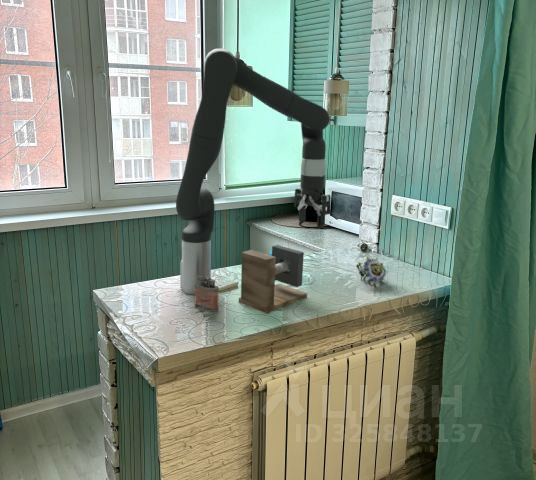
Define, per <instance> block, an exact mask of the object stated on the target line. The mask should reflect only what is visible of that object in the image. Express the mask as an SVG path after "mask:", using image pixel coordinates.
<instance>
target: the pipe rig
mask: <svg viewBox="0 0 536 480" xmlns="http://www.w3.org/2000/svg"><path fill="white" fill-rule="evenodd" d="M275 263H276V257H274V256H271V255H270V254H267V253H264V252H260V251H256V250H254V249H248V250H246V251H242V252H241V273H240V274H241V279H240V281H241V282H240V283H241V285H240V297H238V303H239V304H241V305H244V306H246V307H249V308H252V309H254V310H257V311H259V312H261V313H262V312H263V313H264V314H267V315H268V314H271V313H272V312H275V311H277V310H280V309H282V308H285V307H286V306H290V305H292V304H295V303H297V302H299V301H302V300H304V299H306V298H307V297H308V292H305V291H303V290H299V289H297V288H293V287H292V286H288V285H284V284H282V283H277V284H275V283H276V282H275V281H276V280H275V275H276V274H279V273H282V272H285V271H288V270H290V262H289V261H285V262H282V263H279V264H275Z"/></svg>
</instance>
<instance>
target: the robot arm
mask: <svg viewBox="0 0 536 480" xmlns="http://www.w3.org/2000/svg"><path fill="white" fill-rule="evenodd" d="M202 86H203V87H202V95H201V99H200V103H199V105H198V109H197V111H196V114H195V118H194V121H193V124H192V129H191V136H190V139H189V146H188V152H187V158H186V163H185V167H184V172H183V174H182V175H183V176H182V179H181V182H180V186H179V189H178V192H177V195H176V200H175V209H176V213H177V215H178V216H179V218H180V219H182V220H183V221H190V222H189V223H188V224H187V226H186V227H185V228H183V230H182V231H181V260H180V261H179V265H180V266H179V272H180V273H179V276H180V285H179V287H180V289H181V290H182V292H183V293H185V294H187V295H194V296H195V283H197V282H201V281H198V280H197V277H198V276H203V277H205V278H207V277H210V278H211V277H212V270H211V269H212V267H211V265H212V264H211V263H212V262H211V260H212V256H211V255H212V251H211V250H212V243H211V242H212V233H213V231H214V227H215V226H214V224H215V199H214V196H213V194H212V192H211V191H210V190H209V189H207V188H204V187H203V188H202V185H203V182H204V179H205V178H206V176H207V174H208V172H210V170H211V168H212V167H213V165H214V164H215V162H216V160H217V159H218V157H219V155H220V152H221V148H222V144H223V143H222V142H223V140H224V139H223V138H224V133H225V127H226V126H225V124H226V117H227V116H226V115H227V106H228V102H229V97H230V93H231V91H232V89H233V88H232V87H233V86H235V87H237V88H239V89H240V90H243V91H244V92H246V93H248V94H249V95H251V96H252V97H254V98H256V99H257V100H258V101H260V102H261V103H263V104H264V105H266V106H268V107H269V108H271V109H272V110H274V111H275V112H278V113H279V114H281V115H283V116H285V117H288V118H290V119H294V120H296V121H297V122H299V123H300V125H301V126H300V128H301V137H302V154H301V164H300V188H295V190H294V201H293V202H294V203H293V206H294V207H295V208H297V210H298V221H299V222H300V223H304V222H306V219H307V215H306V214H307V211H306V209H307V207H308V206H310V207H313V209H314V210H315V211H316V214H317V221H316V222H317V224H316V226H317V228H319V229H320V228H323V227H324V226H325V224H326V223H325V222H326V221H325V220H326V218H325V217H326V215H330V214H331V207H332V205H331V200H332V199H331V198H332V197H331V196H332V195H330V194H324V192H323V191H324V189H325V188H326V187H325V186H326V166H327V165H326V151H327V150H326V147H327V146H326V142H325V139H324V130H325V129H326V128H327V127H328V126H329V124H330V118H331V117H330V114H329V112H328V111H327V110H326V108H325V107H323V106H321V105H319V104H316V103H315V102H313V101H310V100H308V99H306V98H304V97H302V96H300V95H299V94H297V93H296V92H294V91H293V90H290V89H289V88H287V87H285V86H283V85H281V84H279V83H278V82H275V81H273V80H272V79H269V78H268V77H266V76H265V75H262V74H261V73H258V72H256V71H255V70H254V69H252V68H251V67H249V66H247V65H246V64H245V63H243V62H242V61H241V60H240V59H238V57H236V56H235V55H234V54H233V53H232V52H231V51H230V50H228V49H226V48H220V47H218V48H214V49H212V50H211V51H209V52H208V53H207V54H206V56H205V58H204V64H203V83H202ZM211 279H212V278H211Z"/></svg>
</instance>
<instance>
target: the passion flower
mask: <svg viewBox="0 0 536 480" xmlns="http://www.w3.org/2000/svg"><path fill="white" fill-rule="evenodd" d="M356 268H357V270H358V271H359V272H358V275H360V281H363V282H368V285H369V287H372V286H374V287H375V288H376V289H378V288H379V287H380V284H381V283H383V284H386V279H385V277H387V274H388V273H389V270H386V267H385V265H384V263H383V262H380V261H379V259H378V258H375V259H374V258H370V256H369V255H366V259H365V262H358V264H356ZM380 282H381V283H380Z"/></svg>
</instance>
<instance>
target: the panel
mask: <svg viewBox="0 0 536 480" xmlns="http://www.w3.org/2000/svg"><path fill="white" fill-rule="evenodd" d="M271 251H272V256H274V257H276V263H275V264H279V263H282V262H284V261H285V260H286V261H289V262H290V271H285V272H282V273H279V274H276V275H275V281H278V282H280V283H283V284H286V285H289V286H291V287H295V288H299V287H301V286H303V273H304V272H303V271H304V255H305V253H304V251H302V250H301V251H300V250H296V249H293V248H290V247H286V246H283V245H279V244H275V245H272V246H271Z"/></svg>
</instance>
